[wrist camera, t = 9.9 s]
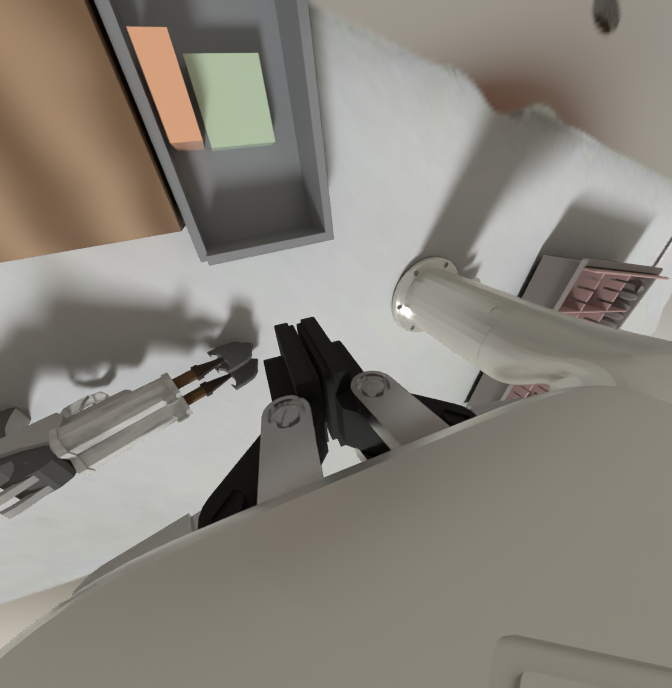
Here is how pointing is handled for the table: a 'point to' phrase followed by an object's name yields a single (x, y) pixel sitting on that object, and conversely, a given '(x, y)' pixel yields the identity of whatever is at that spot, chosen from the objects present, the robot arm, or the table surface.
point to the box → (242, 163)
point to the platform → (72, 137)
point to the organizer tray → (576, 304)
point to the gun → (102, 428)
